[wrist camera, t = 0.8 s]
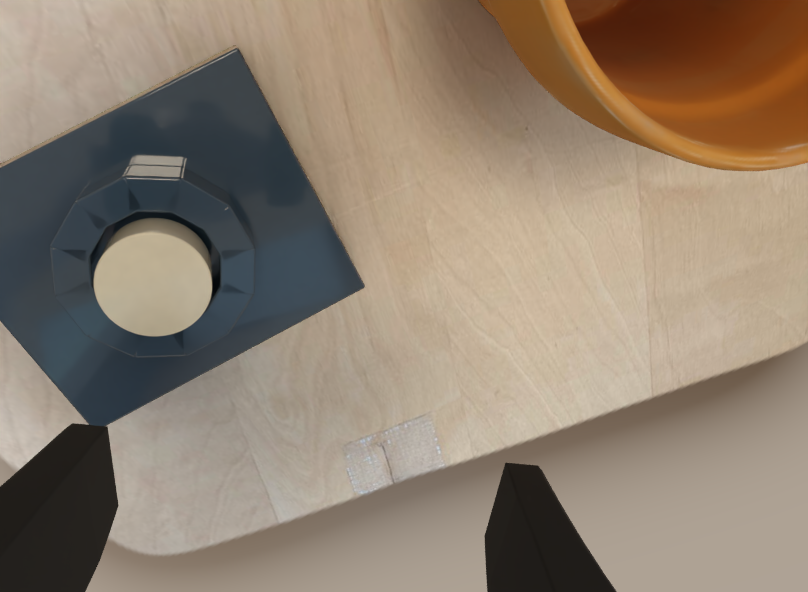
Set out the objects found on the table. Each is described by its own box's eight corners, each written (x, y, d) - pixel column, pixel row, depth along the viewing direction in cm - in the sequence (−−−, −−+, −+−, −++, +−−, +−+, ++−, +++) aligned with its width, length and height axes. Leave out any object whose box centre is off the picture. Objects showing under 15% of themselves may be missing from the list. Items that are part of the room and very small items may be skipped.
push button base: (102, 403, 28) (87, 459, 25) (-68, 197, 24) (-117, 230, 20) (355, 269, 29) (375, 305, 25) (235, 44, 25) (239, 49, 21)
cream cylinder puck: (140, 333, 24) (136, 355, 22) (78, 249, 22) (68, 267, 21) (231, 285, 24) (233, 304, 23) (176, 198, 23) (173, 212, 21)
